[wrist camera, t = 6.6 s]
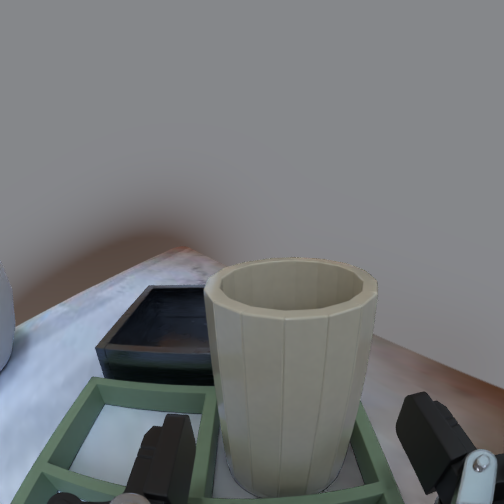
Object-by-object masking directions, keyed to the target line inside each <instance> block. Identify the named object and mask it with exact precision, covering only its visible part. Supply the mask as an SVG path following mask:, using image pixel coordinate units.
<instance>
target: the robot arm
mask: <svg viewBox="0 0 504 504" xmlns="http://www.w3.org/2000/svg"><path fill="white" fill-rule="evenodd" d="M396 433H397V436H398V438H399V440H400V442H401V444H402V446H403V448H404V450H405V452H406V454H407V456H408V458H409V460H410V462H411V464H412V466H413V469H414V471H415V473H416V475H417V477H418V479H419V481H420V483H421V485H422V487H423V489H424V492H425V494H426V495H428V494H430V493H433V492H435V491H437V493H438V496H437V498H436V500H435V503H434V504H504V453H503V454H498V455H494V454H493V453H491V452H490V451H488V450H484V449H478V450H477V449H476V447H475V446H474V445H473V443H472V442H471V440H470V439H469V438H468V436H467V435H466V433H465V432H464V431H463V429H462V428H461V426H460V425H459V424H458V422H457V421H456V419H455V418H454V417H453V415H452V414H451V413H450V411H449V410H448V409H447V407H446V406H444V405H443V404H441V403H440V402H438V401H432V399H431V398H430V396H429V395H428V394H427V393H426V392H420V393H416V394H412V395H408V396H406V397H405V399H404V402H403V405H402V408H401V411H400V414H399V417H398V419H397V422H396ZM195 455H196V443H195V438H194V434H193V430H192V426H191V422H190V418H189V416H188V415H180V414H167V415H166V417H165V420H164V423H163V426H162V427H160V426H153V427H152V428H151V429H150V430H149V431H148V432H147V433H146V434H145V435H144V438H143V440H142V443H141V448H140V449H139V451H138V454H137V457H136V460H135V463H134V466H133V468H132V471H131V474H130V477H129V480H128V483H127V486H126V488H125V490H124V492H123V493H122V494H120V495H118V496H116V497H115V498H113V499H112V500H111V501H106V502H83V501H81V500H80V499H79V498H78V497H77V496H76V495H74V494H71V493H68V492H61V493H57V494H55V495H53V496H52V497H51V498H50V499H49V500H48V502H47V504H187V503H188V497H189V491H190V485H191V479H192V473H193V467H194V461H195Z"/></svg>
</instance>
